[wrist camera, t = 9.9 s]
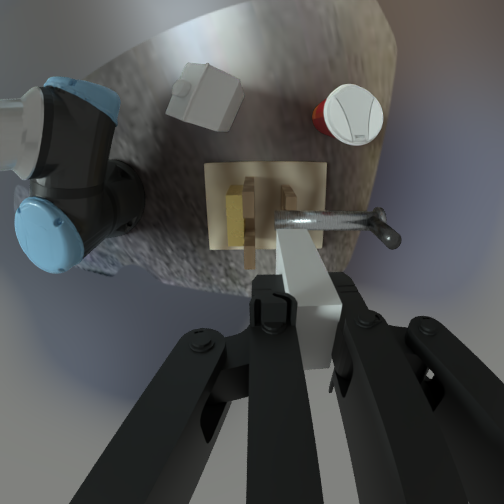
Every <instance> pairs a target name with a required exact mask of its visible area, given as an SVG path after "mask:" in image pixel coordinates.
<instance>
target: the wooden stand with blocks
mask: <svg viewBox="0 0 504 504" xmlns="http://www.w3.org/2000/svg"><path fill="white" fill-rule="evenodd" d="M204 172H205V190H206V205H207V219H208V232H209V245H210V250H235V249H244V267H245V269H255V249H276V232H277V231H275V230H274V211H276V210H310V211H325V197H326V173H327V163H326V162H306V161H241V162H215V163H204ZM230 185H243V190H242V207H243V218H245V239H244V246H228V235H227V215H226V193H227V191H228V189H229V187H230ZM308 232H309V234H310V236H311V238H312V241H313V243H314V245H315V247H316V248H322V243H323V230H308Z"/></svg>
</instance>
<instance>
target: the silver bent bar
mask: <svg viewBox="0 0 504 504" xmlns="http://www.w3.org/2000/svg"><path fill="white" fill-rule="evenodd" d="M277 229H307V230H365V231H367V230H368V231H372V232H373V233H374V234H375V235H376V236H377V237H378V238H379V239H380V240H381V241H382V242H383V243H384V244H385V245H386V246H387V247H388V248H389V249H392V250H393V249H396V248H398V247H399V246H400V244H401V236H400V235H399V234H398V233H397V232H396V231H395V230H393V229H392V228H391V227H390V226H388V225H387V224H386V214H385V211H384V209H383V208H378V207H377V208H374V210H373V212H366V211H310V210H276V211H274V230H275V231H277Z"/></svg>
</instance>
